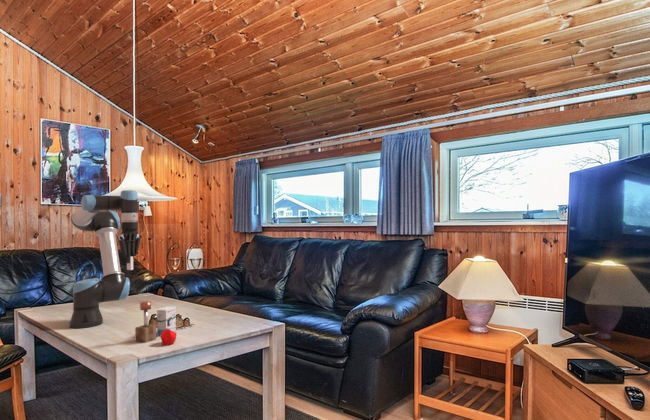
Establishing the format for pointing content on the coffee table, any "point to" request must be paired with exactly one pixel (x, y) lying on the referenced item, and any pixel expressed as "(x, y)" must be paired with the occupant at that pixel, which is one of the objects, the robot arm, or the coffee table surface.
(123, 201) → the robot arm
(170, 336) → the apple
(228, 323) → the coffee table surface
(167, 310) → the ink box
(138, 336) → the awl socket
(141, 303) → the awl
